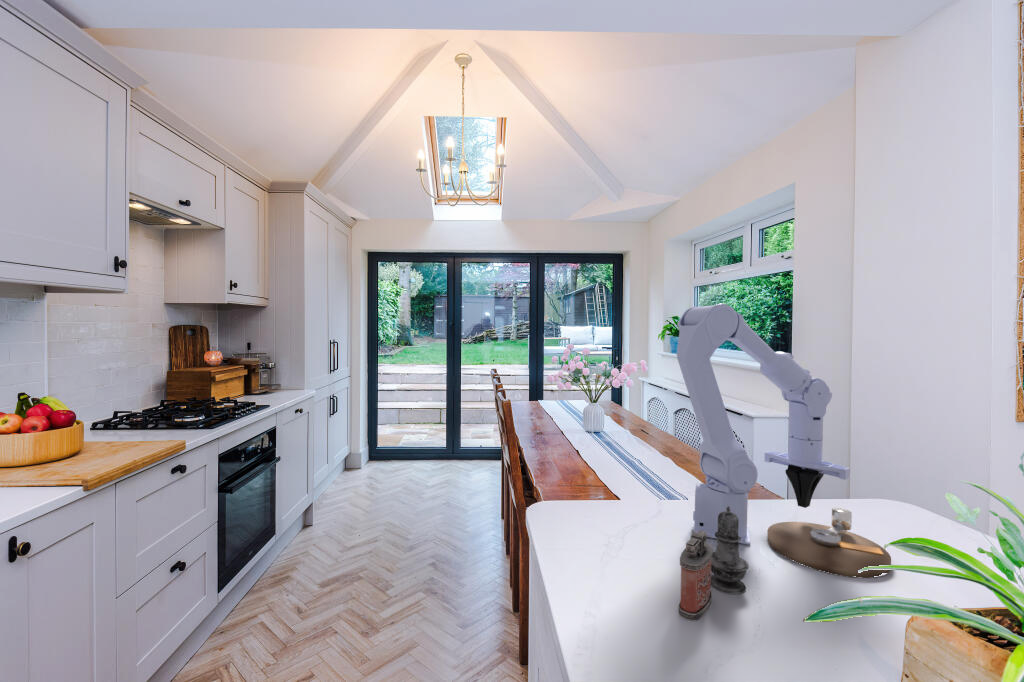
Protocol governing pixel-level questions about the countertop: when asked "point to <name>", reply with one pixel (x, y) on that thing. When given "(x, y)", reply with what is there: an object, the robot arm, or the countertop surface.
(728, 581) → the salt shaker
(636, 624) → the countertop surface
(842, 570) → the dial plate
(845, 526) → the silver dumbbell
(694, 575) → the lighter
